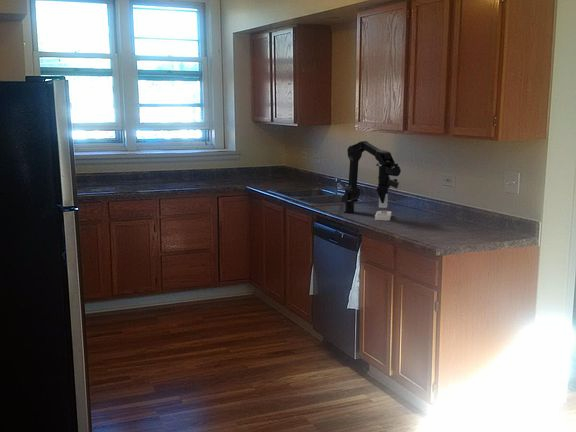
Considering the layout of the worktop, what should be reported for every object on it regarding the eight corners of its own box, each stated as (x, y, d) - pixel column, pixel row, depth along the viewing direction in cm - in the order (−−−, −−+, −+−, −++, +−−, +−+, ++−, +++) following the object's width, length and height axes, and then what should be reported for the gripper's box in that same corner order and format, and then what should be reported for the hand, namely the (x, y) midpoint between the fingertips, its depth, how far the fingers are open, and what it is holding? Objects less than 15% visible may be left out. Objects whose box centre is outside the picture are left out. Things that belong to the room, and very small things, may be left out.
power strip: (377, 215, 374) (377, 209, 374) (391, 215, 373) (391, 210, 372) (374, 220, 359) (375, 214, 358) (389, 220, 357) (389, 215, 357)
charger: (379, 206, 363) (379, 193, 362) (387, 206, 362) (387, 193, 361) (378, 207, 359) (379, 194, 358) (386, 207, 358) (387, 195, 357)
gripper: (397, 176, 347) (396, 205, 350) (399, 173, 365) (398, 200, 368) (376, 176, 349) (376, 204, 352) (379, 172, 367) (378, 200, 370)
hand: (383, 202), depth 360 cm, fingers closed on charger, 4 cm apart
